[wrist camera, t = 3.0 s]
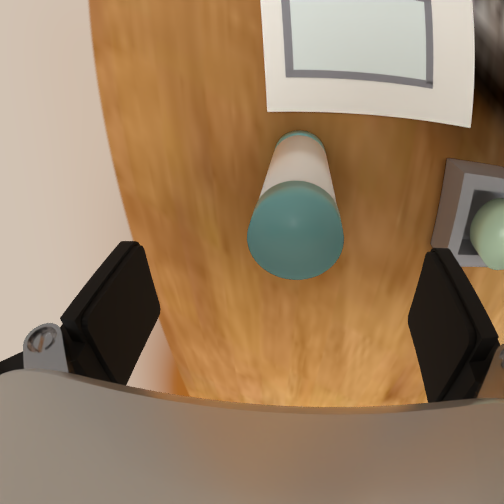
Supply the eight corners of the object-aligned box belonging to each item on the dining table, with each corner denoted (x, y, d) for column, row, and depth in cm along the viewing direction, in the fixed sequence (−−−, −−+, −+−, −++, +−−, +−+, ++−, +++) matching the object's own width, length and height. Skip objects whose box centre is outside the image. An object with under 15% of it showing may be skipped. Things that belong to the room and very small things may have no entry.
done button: (524, 201, 16) (538, 214, 14) (507, 254, 18) (519, 270, 17) (478, 195, 17) (491, 209, 15) (463, 252, 19) (473, 269, 17)
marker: (326, 130, 20) (347, 198, 10) (325, 179, 21) (339, 281, 12) (272, 129, 20) (243, 195, 11) (274, 178, 22) (250, 278, 13)
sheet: (462, -53, 10) (464, -54, 9) (468, 127, 17) (471, 128, 17) (254, -78, 12) (253, -80, 11) (267, 111, 19) (267, 112, 19)
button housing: (518, 169, 18) (538, 185, 15) (497, 246, 22) (512, 267, 19) (447, 158, 19) (464, 172, 16) (430, 243, 23) (442, 266, 20)
